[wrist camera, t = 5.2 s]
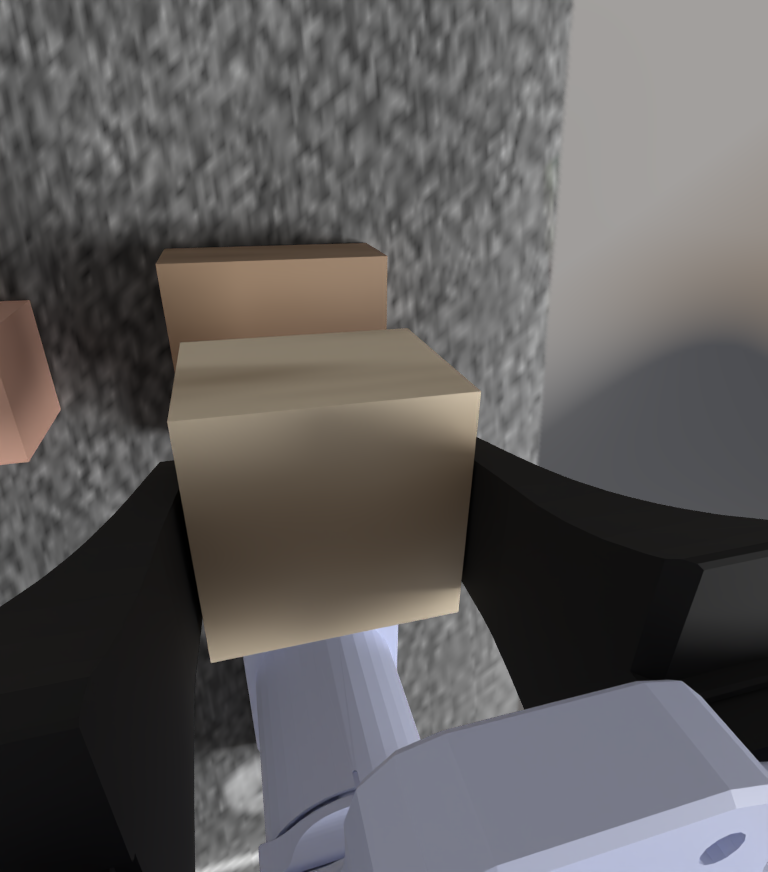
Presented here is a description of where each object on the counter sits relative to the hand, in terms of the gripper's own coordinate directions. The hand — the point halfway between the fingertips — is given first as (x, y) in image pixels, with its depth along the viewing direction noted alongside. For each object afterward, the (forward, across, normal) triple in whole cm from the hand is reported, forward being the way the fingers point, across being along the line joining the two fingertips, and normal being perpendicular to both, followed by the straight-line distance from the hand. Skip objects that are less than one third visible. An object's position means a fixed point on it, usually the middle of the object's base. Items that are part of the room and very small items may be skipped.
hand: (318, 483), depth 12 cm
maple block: (+2, 0, 0) cm, 2 cm away
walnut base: (+10, 0, 0) cm, 10 cm away
